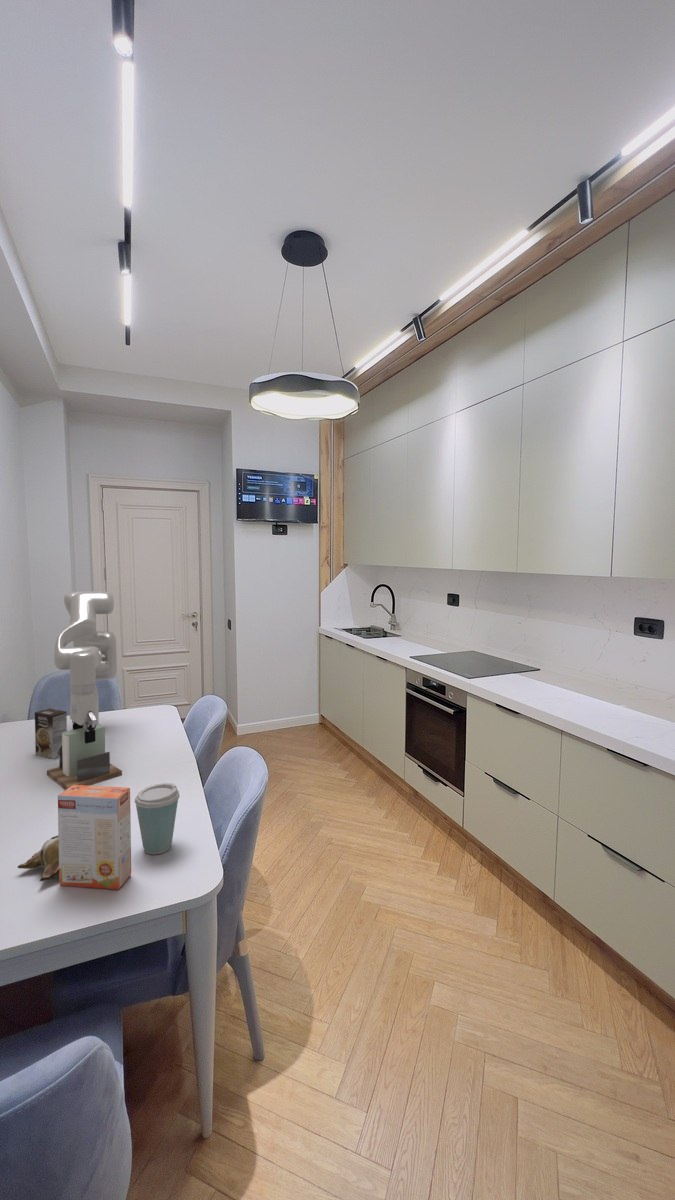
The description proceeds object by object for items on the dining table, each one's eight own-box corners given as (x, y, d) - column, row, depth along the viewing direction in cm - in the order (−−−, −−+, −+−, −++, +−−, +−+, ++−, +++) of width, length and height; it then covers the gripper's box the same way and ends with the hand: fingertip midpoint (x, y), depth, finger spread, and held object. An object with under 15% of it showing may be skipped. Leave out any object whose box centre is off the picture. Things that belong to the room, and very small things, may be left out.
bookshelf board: (46, 774, 166) (46, 749, 165) (98, 760, 179) (98, 737, 178) (68, 791, 154) (67, 765, 154) (121, 775, 167) (121, 750, 166)
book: (62, 774, 163) (62, 732, 162) (100, 763, 172) (99, 724, 171) (67, 777, 161) (66, 735, 160) (105, 766, 170) (104, 726, 169)
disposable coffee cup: (135, 863, 118) (134, 802, 117) (134, 840, 128) (133, 784, 127) (181, 854, 122) (181, 795, 121) (177, 832, 132) (177, 777, 131)
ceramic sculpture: (102, 822, 120) (39, 857, 107) (105, 856, 121) (42, 894, 108) (76, 811, 125) (13, 842, 113) (79, 843, 126) (17, 877, 114)
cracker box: (132, 874, 114) (131, 786, 113) (118, 891, 108) (117, 798, 107) (75, 869, 116) (73, 782, 114) (58, 886, 110) (56, 794, 108)
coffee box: (34, 755, 182) (33, 712, 181) (50, 749, 188) (49, 707, 187) (52, 759, 179) (51, 715, 178) (68, 753, 185) (67, 710, 184)
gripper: (60, 685, 167) (61, 734, 169) (82, 696, 156) (82, 748, 158) (84, 681, 173) (84, 729, 175) (106, 691, 162) (106, 742, 163)
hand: (83, 738), depth 166 cm, fingers open, 9 cm apart
